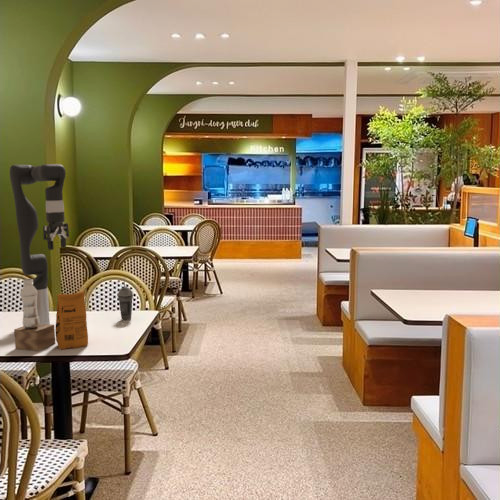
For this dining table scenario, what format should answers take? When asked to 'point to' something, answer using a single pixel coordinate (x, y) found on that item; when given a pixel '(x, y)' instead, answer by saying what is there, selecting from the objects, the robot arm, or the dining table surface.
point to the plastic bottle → (29, 304)
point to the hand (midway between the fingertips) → (57, 248)
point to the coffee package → (71, 321)
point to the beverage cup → (125, 302)
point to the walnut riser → (34, 337)
